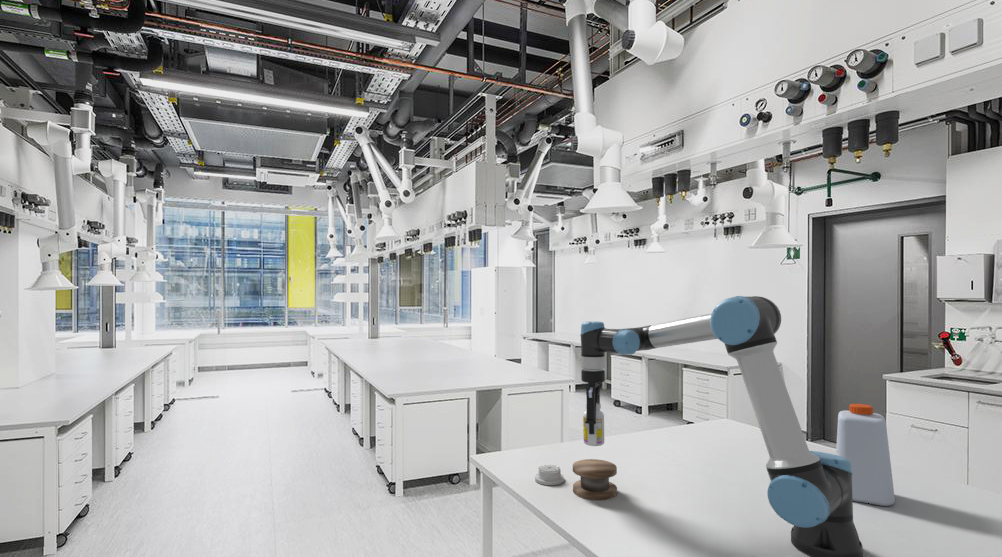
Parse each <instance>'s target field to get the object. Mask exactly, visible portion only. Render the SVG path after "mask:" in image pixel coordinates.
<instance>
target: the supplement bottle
mask: <svg viewBox="0 0 1002 557" xmlns="http://www.w3.org/2000/svg"><path fill="white" fill-rule="evenodd" d="M601 406H602V405H601V402H600V403H596V428H597V444H596V445H594V444H588V424H587V423H585V421H586V420H587V410H585V411H584V412H583V413H582V414H583V416H582V421H583V423H582V424H583V426H582V427H583V428H582V429H583V430H582V431H583V443H584V444H585V445H587V446H590V447H599V446H600V447H601V446H603V445H604V444H605V414H604V412H603V411H601V409H602V408H601ZM585 408H586V409H587V402H586V403H585Z"/></svg>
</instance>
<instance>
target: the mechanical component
mask: <svg viewBox="0 0 1002 557" xmlns="http://www.w3.org/2000/svg"><path fill="white" fill-rule="evenodd" d="M561 472H562V470H561V468H560V466H557V465H554V464H544V465H540V466H539V467H538V473H537V474H535V475H534V481H535V482H536V483H537V484H540V485H544V486H558V485H561V484H563V483H564V482H565V476H564V474H562V473H561Z"/></svg>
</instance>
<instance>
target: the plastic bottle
mask: <svg viewBox="0 0 1002 557" xmlns="http://www.w3.org/2000/svg"><path fill="white" fill-rule="evenodd" d="M848 406H849V408H848V409H849V410H841V411H839V412H838V415H837V428H836V429H837V432H836V453H835V455H837V456H841V457H844V458H846V459H847V460H849V461H850V463H851V469H852V472H853V474H852V498H853V502H857V503H864V504H868V503H869V505H875V506H881V507H889V506H893V504H895V501H896V497H895V489H894V483H893V482H894V481H893V473H892V471H893V470H892V462H891V452H890V446H889V439H888V438H889V437H888V428H887V422H886V419H885V416H884V415H882V414H880V413H876V412H874V408H873V406H872V405H870V404H865V403H851V404H849V405H848Z"/></svg>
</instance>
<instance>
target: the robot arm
mask: <svg viewBox="0 0 1002 557" xmlns="http://www.w3.org/2000/svg"><path fill="white" fill-rule="evenodd" d="M781 324H782V315H781V311H780V309H779V306H777V305H776V304H775V303H774V302H773V301H772V300H771V299H768V298H767V297H764V296H753V295H752V296H743V295H737V296H731V297H728V298H726V299H723V300H721V301H720V302H719V303H717V304H716V305H715V307H714V308H713V311H712V312H711V313H707V314H701V315H696V316H690V317H687V318H686V317H685V318H681V319H676V320H670V321H666V322H660V323H656V324H651V325H644V326H639V327H629V328H628V327H627V328H606V327H605V324H604V321H583V322H582V323H581V326H580V334H579V335H580V346H581V347H580V349H581V350H580V351H581V354H580V356H581V358H579V362H581V369H582V370H581V372H580V373H581V381H582V382H583V383H587V385H588V386H587V387H586V391H585V395H586V403H587V408H586V411H587V420H586V421H585V423H587V424H588V444H594V445H596V444H597V428H596V403H600V404H601V400H600V399H601V398H600V397H601V396H600V395H601V385H600V383H604V382H605V381H606V374H605V373H606V371H605V368H606V356H605V353H612V354H618V355H619V354H620V355H624V356H625V355H633V354H635V353H636V352H640V351H641V352H642V351H649V350H654V349H658V348H666V347H673V346H678V345H679V346H680V345H685V344H687V345H688V344H693V343H699V342H700V343H701V342H706V341H712V340H718V341H720V342H722V343H723V344H724V346H725V350H726V351H727V355H728V356H730V357H731V358H733V359H735V360H736V363H737V365H738V368H739V370H740V372H741V373H740V374H741V376H742V380H743V383H744V384H745V388H746V391H747V394H748V398H749V400H750V403H751V405H752V408H753V411H754V415H755V417H756V421H757V424H758V426H759V429H760V432H761V435H762V438H763V441H764V444H765V447H766V450H767V453H768V455H769V458H768V461H767V462H766V465H765V467H766V471H767V474H768V477H769V480H770V482H769V485H768V488H767V499H768V503H769V505H770V506H771V508H772V509H773V511H774V512H775V514H776V515H777V516H779V518H781V519H783V521H785V522H786V523H787V524H790V525H792V527H791V530H790V542H791V544H792V545H793V547H795V548H796V549H797V550H798V551H800V552H802V553H803V554H805V555H808V556H810V557H864V551H863V550H864V547H863V544H862V541H861V540H860V537H859V534H858V530H857V528H856V525H855V523H854V507H853V506H854V504H853V503H854V501H853V498H852V474H853V472H852V469H851V463H850V461H849V460H847V459H846V458H844V457H841V456H837V455H836V454H833V453H828V452H822V451H814V450H809V447H808V444H807V441H806V438H805V435H804V433H803V429H802V427H801V425H800V422H799V419H798V416H797V414H796V411H795V408H794V406H793V403H792V400H791V398H790V395H789V394H790V393H789V392H788V389H787V386H786V383H785V381H784V378H783V375H782V371H781V370H780V366H779V364H778V361H777V359H776V356H775V353H774V350H775V349H776V346H777V345H778V341H777V338H776V335H775V334H776V333H777V332H778V331H779V329H780V327H781Z"/></svg>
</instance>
